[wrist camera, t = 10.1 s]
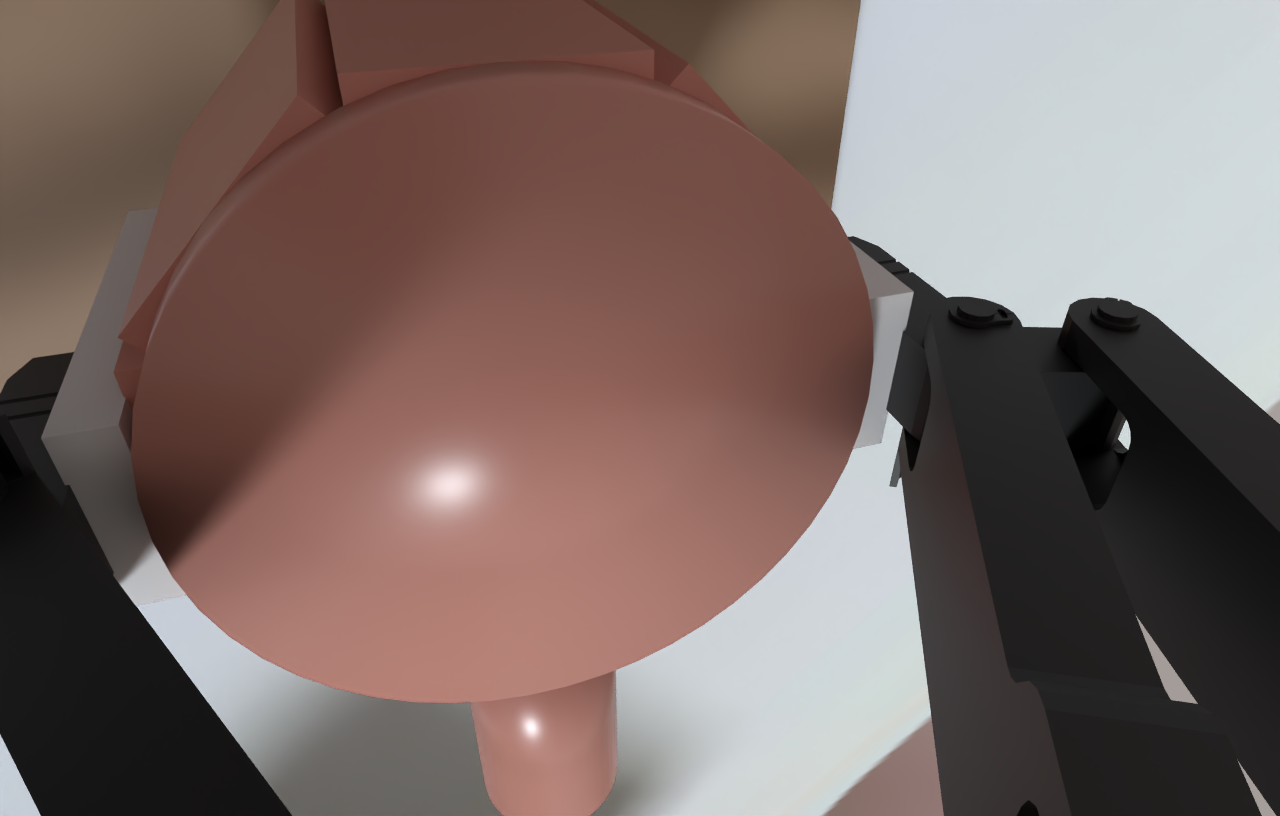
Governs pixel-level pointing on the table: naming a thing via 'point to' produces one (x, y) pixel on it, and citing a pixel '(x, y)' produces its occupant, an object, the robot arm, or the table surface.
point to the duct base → (205, 53)
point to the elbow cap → (484, 364)
